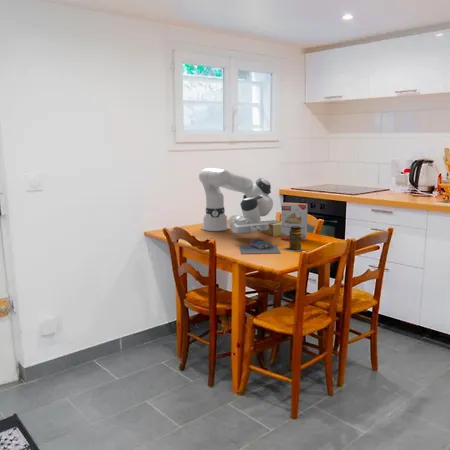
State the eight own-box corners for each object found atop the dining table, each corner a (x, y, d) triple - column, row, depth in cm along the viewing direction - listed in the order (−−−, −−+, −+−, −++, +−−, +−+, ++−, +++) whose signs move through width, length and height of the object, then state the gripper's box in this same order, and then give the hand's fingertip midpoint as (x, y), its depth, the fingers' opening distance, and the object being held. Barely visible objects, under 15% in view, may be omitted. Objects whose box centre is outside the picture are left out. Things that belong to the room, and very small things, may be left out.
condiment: (304, 249, 247) (305, 227, 244) (292, 251, 242) (292, 228, 240) (295, 247, 253) (295, 224, 250) (283, 249, 248) (283, 226, 246)
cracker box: (280, 239, 271) (281, 203, 267) (283, 237, 276) (283, 202, 272) (305, 241, 266) (305, 204, 262) (307, 239, 271) (307, 203, 268)
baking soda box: (260, 231, 294) (272, 236, 280) (260, 221, 293) (272, 225, 279) (273, 230, 298) (286, 235, 284) (273, 220, 297) (286, 224, 282)
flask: (249, 246, 254) (260, 250, 245) (249, 240, 254) (260, 244, 245) (264, 244, 259) (275, 248, 249) (264, 238, 258) (275, 242, 249)
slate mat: (239, 246, 255) (239, 245, 255) (276, 245, 256) (276, 245, 256) (241, 254, 239) (241, 253, 238) (280, 253, 239) (280, 252, 239)
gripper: (261, 229, 271) (274, 233, 259) (230, 233, 262) (241, 237, 250) (261, 218, 270) (274, 222, 258) (229, 221, 261) (241, 225, 249)
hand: (258, 229), depth 254 cm, fingers closed
